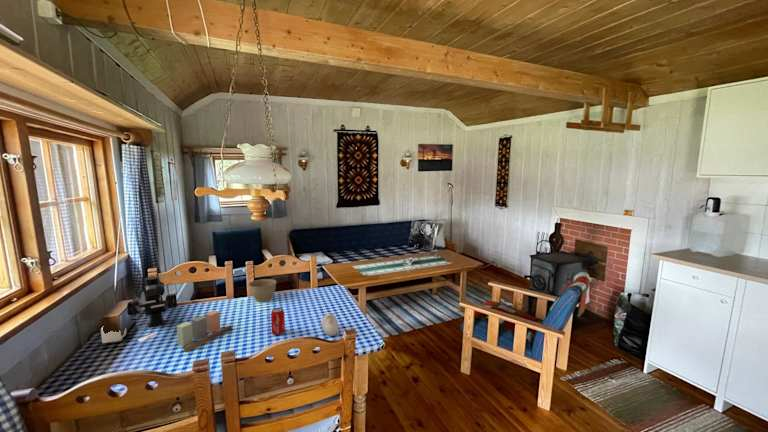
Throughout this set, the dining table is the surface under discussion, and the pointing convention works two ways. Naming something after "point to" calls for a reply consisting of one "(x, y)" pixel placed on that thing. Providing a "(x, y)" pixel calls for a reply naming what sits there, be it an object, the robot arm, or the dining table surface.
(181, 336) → the key sage
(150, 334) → the tile
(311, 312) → the dining table surface
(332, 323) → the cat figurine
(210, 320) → the key terracotta
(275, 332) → the soda can
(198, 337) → the key grey
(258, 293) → the planter bowl
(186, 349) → the key console
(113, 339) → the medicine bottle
